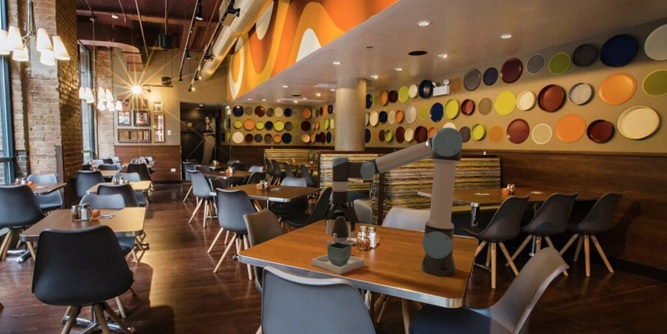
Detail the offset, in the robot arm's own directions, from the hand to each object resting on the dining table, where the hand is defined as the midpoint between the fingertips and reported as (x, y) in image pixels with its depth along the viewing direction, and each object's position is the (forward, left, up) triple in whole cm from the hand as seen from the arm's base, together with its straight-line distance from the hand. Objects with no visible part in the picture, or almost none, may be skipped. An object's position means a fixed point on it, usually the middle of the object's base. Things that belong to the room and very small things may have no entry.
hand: (339, 235), depth 169 cm
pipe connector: (+15, -15, -14) cm, 26 cm away
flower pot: (0, 0, -14) cm, 14 cm away
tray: (0, 0, -14) cm, 14 cm away
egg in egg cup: (+27, -34, -14) cm, 46 cm away
